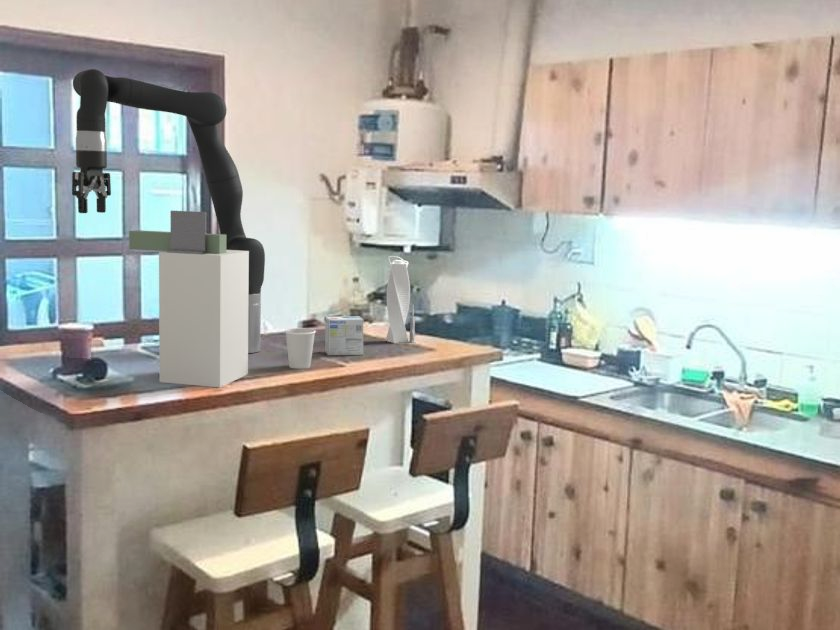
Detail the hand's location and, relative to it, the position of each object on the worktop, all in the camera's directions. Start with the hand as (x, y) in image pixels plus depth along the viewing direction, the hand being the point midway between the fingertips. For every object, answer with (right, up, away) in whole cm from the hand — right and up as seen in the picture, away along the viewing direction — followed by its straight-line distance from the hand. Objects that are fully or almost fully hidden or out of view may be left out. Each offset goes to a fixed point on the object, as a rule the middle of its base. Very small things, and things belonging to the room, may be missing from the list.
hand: (92, 212), depth 246 cm
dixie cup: (+52, -41, +12) cm, 67 cm away
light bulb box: (+62, -38, +34) cm, 81 cm away
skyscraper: (+78, -36, +57) cm, 103 cm away
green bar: (+25, -11, -12) cm, 30 cm away
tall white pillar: (+31, -42, -7) cm, 53 cm away
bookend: (+29, -11, -16) cm, 35 cm away
